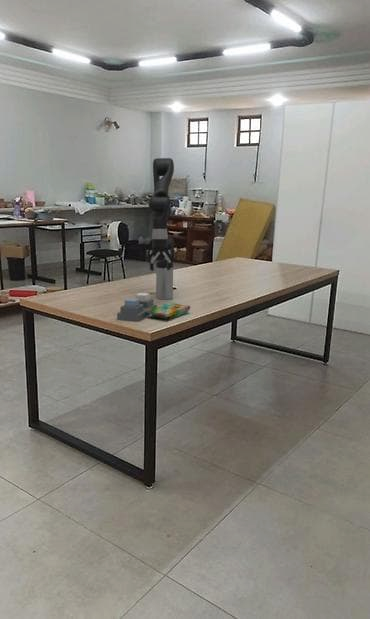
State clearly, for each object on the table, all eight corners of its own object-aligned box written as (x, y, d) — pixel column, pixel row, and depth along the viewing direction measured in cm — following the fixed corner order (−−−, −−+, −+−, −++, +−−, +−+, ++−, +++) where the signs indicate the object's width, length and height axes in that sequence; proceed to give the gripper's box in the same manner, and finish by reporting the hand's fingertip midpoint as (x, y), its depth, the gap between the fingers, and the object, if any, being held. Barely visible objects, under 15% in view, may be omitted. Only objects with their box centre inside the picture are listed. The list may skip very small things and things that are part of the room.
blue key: (129, 304, 221) (129, 298, 220) (139, 305, 220) (139, 299, 219) (124, 306, 217) (124, 300, 216) (134, 307, 215) (134, 301, 214)
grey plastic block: (136, 308, 237) (136, 296, 236) (156, 310, 234) (156, 298, 233) (117, 319, 217) (116, 306, 215) (139, 321, 214) (139, 308, 212)
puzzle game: (190, 304, 230) (166, 312, 213) (190, 313, 231) (166, 322, 215) (170, 301, 236) (145, 308, 220) (170, 310, 237) (145, 318, 221)
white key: (140, 298, 233) (140, 292, 232) (149, 299, 232) (149, 293, 231) (136, 300, 229) (136, 294, 228) (145, 301, 227) (145, 295, 226)
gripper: (170, 237, 242) (170, 269, 245) (144, 237, 237) (144, 270, 240) (175, 238, 235) (175, 270, 239) (148, 238, 230) (148, 271, 233)
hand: (160, 270), depth 239 cm, fingers open, 8 cm apart
